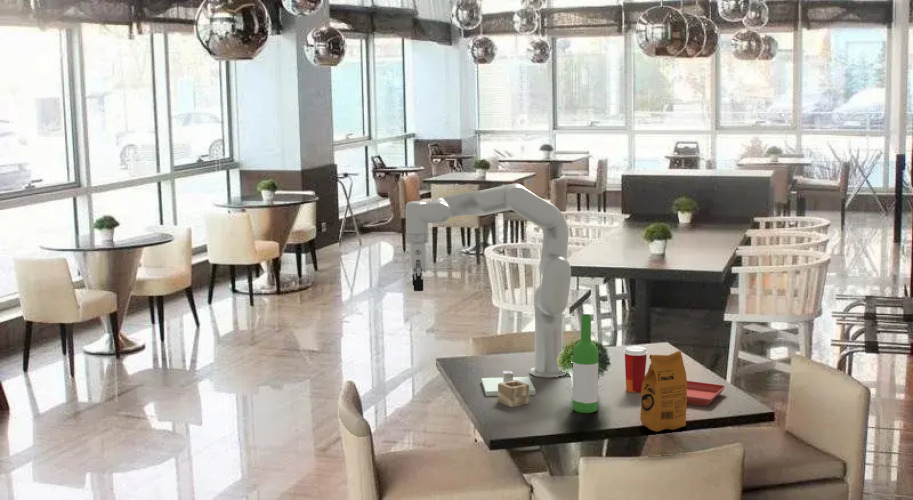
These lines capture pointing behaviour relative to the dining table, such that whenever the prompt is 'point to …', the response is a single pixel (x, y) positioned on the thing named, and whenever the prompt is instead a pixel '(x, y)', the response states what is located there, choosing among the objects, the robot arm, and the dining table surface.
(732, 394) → the dining table surface
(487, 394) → the post board
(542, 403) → the dining table surface
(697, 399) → the plant saucer
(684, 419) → the coffee package
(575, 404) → the wine bottle
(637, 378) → the paper cup
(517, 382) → the maple collar
